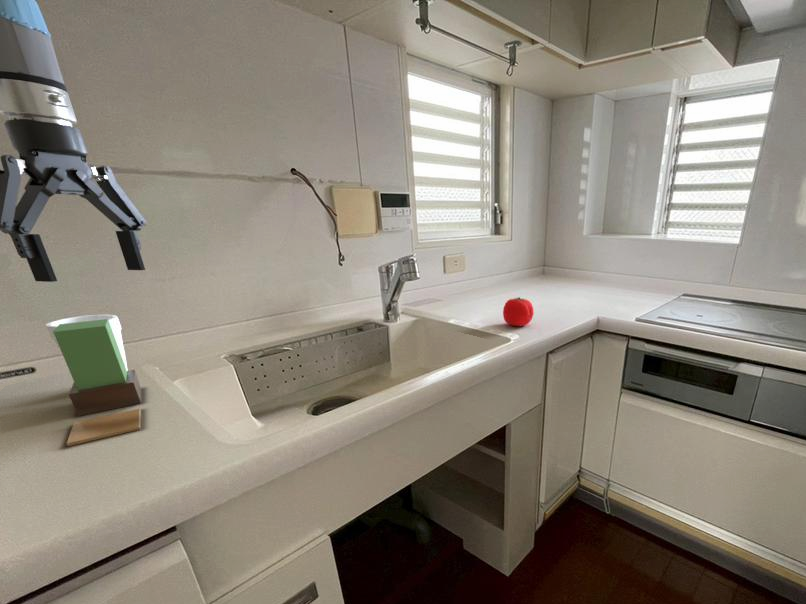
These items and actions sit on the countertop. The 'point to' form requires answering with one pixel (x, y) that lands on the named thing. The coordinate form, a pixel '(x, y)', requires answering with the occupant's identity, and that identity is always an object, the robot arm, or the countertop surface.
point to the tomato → (518, 312)
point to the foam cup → (112, 320)
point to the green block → (91, 353)
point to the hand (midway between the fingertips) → (96, 275)
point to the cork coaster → (104, 427)
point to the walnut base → (106, 396)
